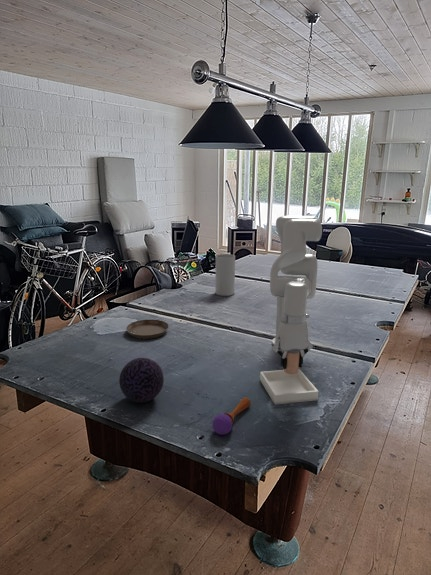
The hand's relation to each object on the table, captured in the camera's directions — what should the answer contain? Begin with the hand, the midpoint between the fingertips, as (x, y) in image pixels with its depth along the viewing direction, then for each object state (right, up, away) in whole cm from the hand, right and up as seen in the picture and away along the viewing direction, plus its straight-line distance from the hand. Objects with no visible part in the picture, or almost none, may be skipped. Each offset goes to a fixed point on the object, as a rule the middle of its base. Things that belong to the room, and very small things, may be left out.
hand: (291, 366), depth 145 cm
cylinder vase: (-20, +24, +125) cm, 129 cm away
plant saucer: (-60, +5, +59) cm, 84 cm away
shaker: (0, -2, +1) cm, 2 cm away
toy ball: (-52, -11, -1) cm, 53 cm away
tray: (0, -10, +5) cm, 11 cm away
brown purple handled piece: (-21, -15, -14) cm, 29 cm away
